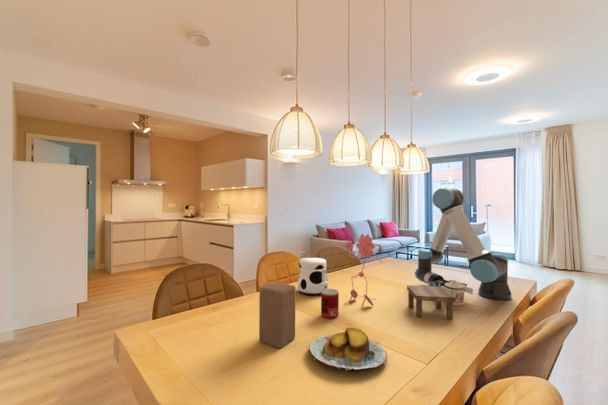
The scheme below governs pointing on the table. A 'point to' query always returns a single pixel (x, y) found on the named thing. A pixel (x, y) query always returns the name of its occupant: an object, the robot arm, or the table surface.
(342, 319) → the table surface
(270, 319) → the wooden block
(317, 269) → the milk container
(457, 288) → the teacup with lid
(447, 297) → the walnut footstool
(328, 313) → the canned food
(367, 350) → the food on plate
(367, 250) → the figurine
